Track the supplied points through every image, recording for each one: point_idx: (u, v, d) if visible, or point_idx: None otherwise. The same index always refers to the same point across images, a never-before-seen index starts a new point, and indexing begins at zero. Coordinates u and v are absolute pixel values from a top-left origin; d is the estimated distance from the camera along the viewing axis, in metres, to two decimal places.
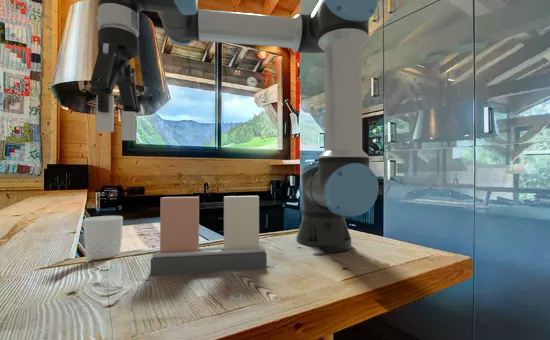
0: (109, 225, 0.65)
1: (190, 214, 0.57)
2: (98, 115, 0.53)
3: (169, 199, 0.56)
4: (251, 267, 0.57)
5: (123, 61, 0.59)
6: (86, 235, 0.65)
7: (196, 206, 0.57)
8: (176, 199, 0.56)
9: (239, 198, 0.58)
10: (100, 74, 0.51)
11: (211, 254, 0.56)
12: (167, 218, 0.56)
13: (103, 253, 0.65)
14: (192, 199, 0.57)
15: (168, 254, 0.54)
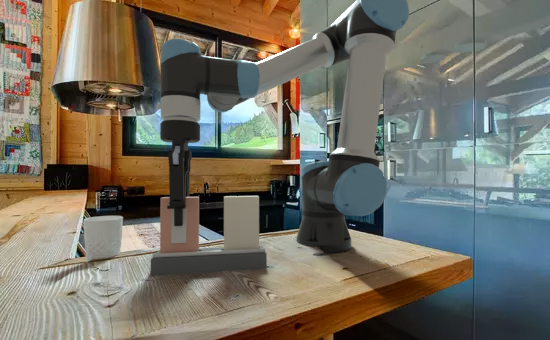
0: (109, 225, 0.65)
1: (190, 214, 0.57)
2: (173, 228, 0.55)
3: (169, 199, 0.56)
4: (251, 267, 0.57)
5: (187, 155, 0.56)
6: (86, 235, 0.65)
7: (196, 206, 0.57)
8: None
9: (239, 198, 0.58)
10: (177, 194, 0.53)
11: (211, 254, 0.56)
12: (167, 218, 0.56)
13: (103, 253, 0.65)
14: (192, 199, 0.57)
15: (168, 254, 0.54)
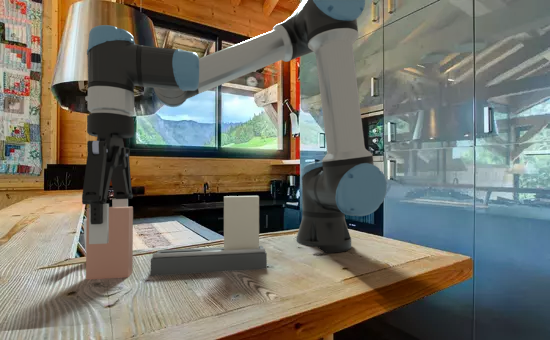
0: None
1: (120, 226, 0.53)
2: (91, 227, 0.48)
3: None
4: (251, 267, 0.57)
5: (116, 149, 0.52)
6: None
7: (127, 217, 0.53)
8: None
9: (239, 198, 0.58)
10: (92, 185, 0.46)
11: (211, 254, 0.56)
12: None
13: None
14: (122, 210, 0.53)
15: (168, 254, 0.54)
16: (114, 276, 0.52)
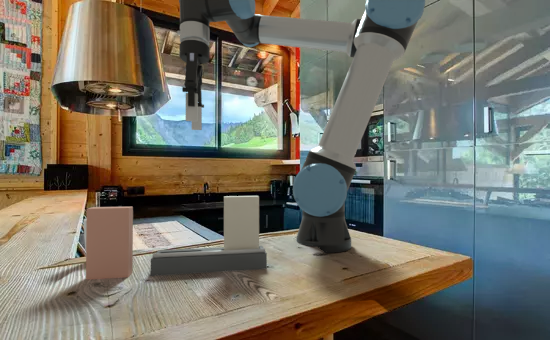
0: None
1: (120, 226, 0.53)
2: (187, 108, 0.69)
3: (96, 210, 0.52)
4: (251, 267, 0.57)
5: (200, 66, 0.74)
6: None
7: (127, 217, 0.53)
8: (104, 210, 0.52)
9: (239, 198, 0.58)
10: (191, 77, 0.67)
11: (211, 254, 0.56)
12: (94, 230, 0.52)
13: None
14: (122, 210, 0.53)
15: (168, 254, 0.54)
16: (114, 276, 0.52)
